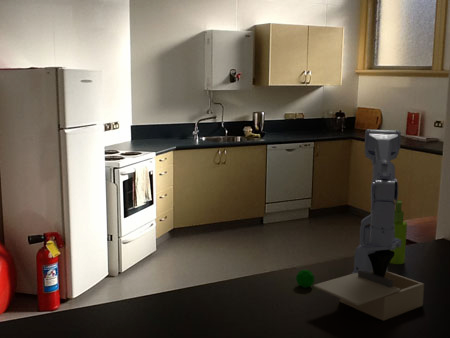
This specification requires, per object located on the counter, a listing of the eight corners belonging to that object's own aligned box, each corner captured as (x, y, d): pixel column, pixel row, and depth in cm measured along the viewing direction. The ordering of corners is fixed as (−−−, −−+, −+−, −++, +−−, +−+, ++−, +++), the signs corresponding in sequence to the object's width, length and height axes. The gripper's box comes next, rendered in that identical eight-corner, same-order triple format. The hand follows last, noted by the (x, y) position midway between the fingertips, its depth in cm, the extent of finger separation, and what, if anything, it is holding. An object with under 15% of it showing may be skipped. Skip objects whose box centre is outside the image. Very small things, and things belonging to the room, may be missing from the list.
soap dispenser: (404, 258, 177) (408, 199, 174) (404, 265, 171) (408, 204, 168) (386, 256, 179) (389, 198, 176) (385, 262, 173) (388, 202, 170)
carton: (339, 301, 141) (340, 279, 140) (378, 289, 150) (379, 268, 149) (383, 320, 130) (384, 297, 129) (422, 305, 139) (424, 283, 138)
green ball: (316, 289, 149) (316, 273, 148) (299, 290, 148) (299, 274, 148) (310, 283, 154) (311, 267, 153) (294, 283, 153) (294, 268, 153)
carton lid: (313, 286, 134) (314, 278, 134) (356, 274, 143) (356, 266, 143) (357, 305, 123) (357, 296, 123) (400, 290, 132) (400, 282, 132)
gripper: (376, 234, 128) (373, 288, 130) (412, 226, 137) (409, 276, 139) (353, 228, 134) (350, 279, 136) (389, 220, 143) (386, 269, 145)
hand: (378, 277), depth 138 cm, fingers closed
